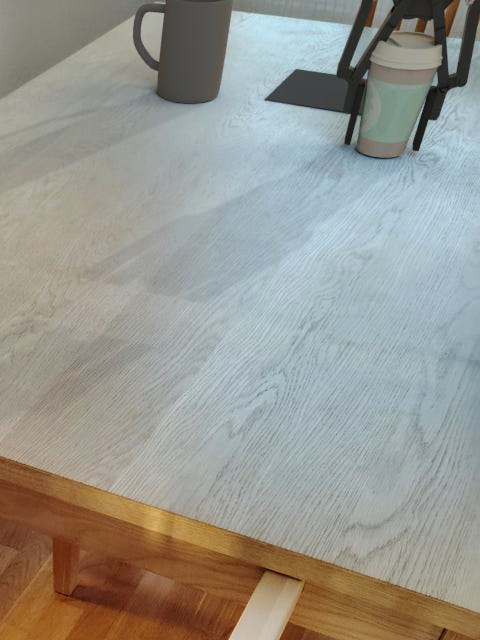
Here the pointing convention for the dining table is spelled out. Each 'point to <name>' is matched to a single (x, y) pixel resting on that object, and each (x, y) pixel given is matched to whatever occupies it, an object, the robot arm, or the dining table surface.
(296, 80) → the placemat
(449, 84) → the robot arm
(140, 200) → the dining table surface
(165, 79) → the mug
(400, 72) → the coffee cup
